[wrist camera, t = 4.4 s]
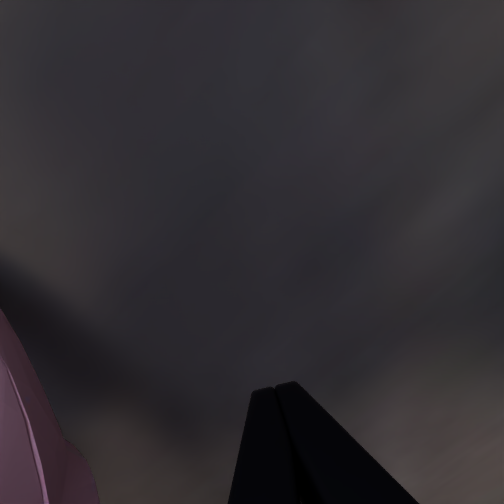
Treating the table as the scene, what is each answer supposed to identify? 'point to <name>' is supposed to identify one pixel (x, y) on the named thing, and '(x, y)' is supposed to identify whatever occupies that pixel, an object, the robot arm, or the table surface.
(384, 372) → the table surface
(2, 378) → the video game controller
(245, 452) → the robot arm
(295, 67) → the table surface
